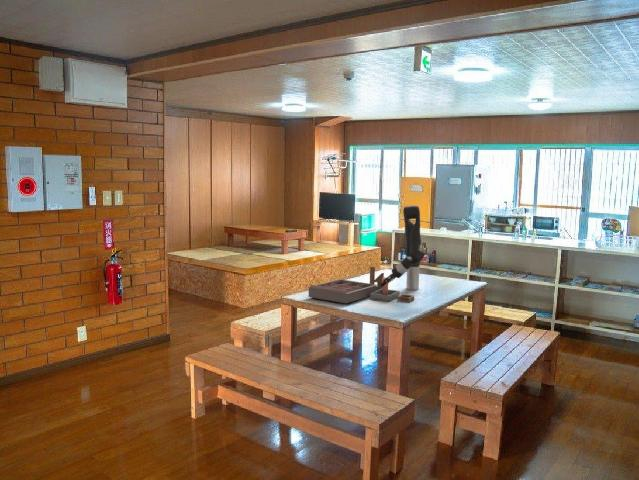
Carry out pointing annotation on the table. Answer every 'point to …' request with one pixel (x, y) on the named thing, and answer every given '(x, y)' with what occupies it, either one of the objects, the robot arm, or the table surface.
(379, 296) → the tray
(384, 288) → the dowel
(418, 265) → the robot arm
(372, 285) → the organizer tray
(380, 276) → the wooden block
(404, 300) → the dowel collar
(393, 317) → the table surface
